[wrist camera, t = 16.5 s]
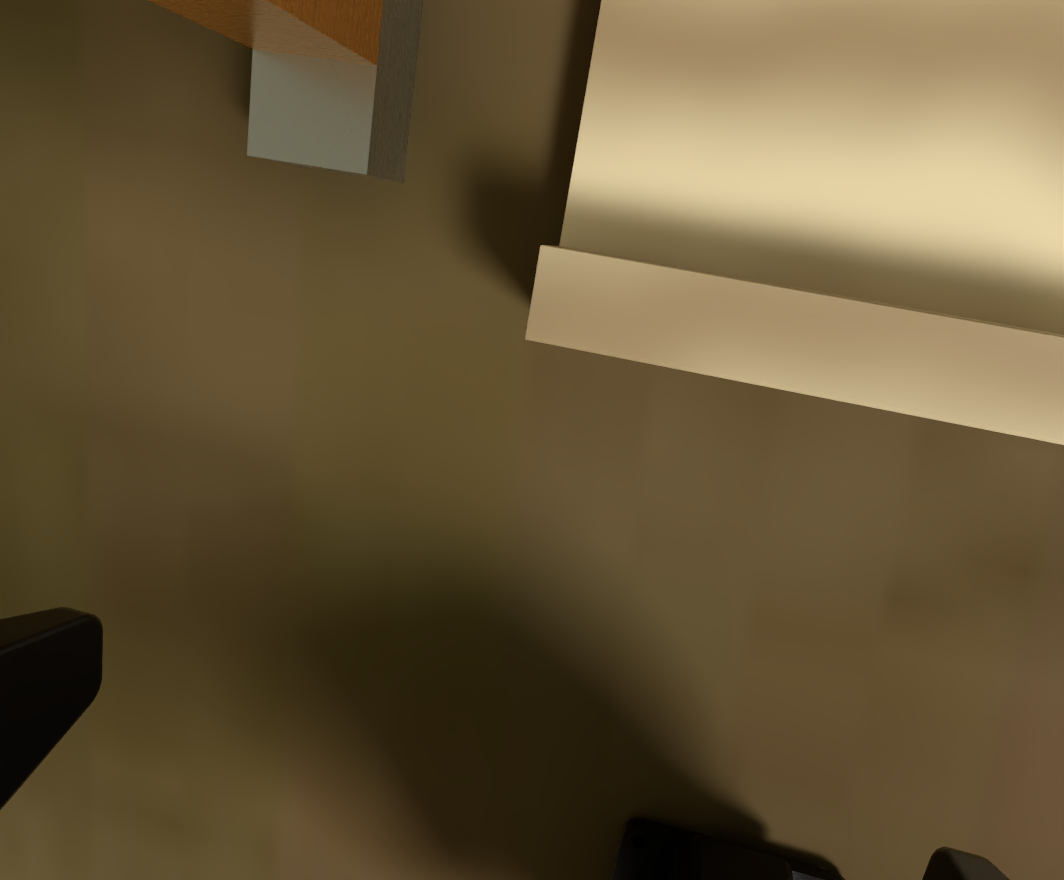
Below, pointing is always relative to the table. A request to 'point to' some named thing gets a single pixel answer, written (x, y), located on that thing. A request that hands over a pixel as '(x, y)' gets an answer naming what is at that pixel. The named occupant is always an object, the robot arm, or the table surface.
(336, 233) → the table surface
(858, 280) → the slotted block
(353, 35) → the grey-ended wooden block
